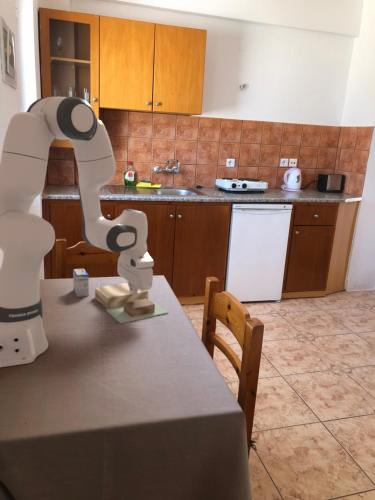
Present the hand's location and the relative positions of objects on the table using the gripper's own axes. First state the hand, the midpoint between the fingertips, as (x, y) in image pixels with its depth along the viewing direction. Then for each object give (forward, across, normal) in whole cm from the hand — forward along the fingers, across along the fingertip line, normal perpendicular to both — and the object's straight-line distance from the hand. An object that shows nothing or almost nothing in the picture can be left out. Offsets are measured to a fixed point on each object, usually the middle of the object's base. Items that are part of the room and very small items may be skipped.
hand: (133, 294), depth 145 cm
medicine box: (+6, -23, -11) cm, 26 cm away
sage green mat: (+6, +3, 0) cm, 6 cm away
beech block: (+6, -10, 0) cm, 11 cm away
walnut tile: (+2, +4, 0) cm, 5 cm away
